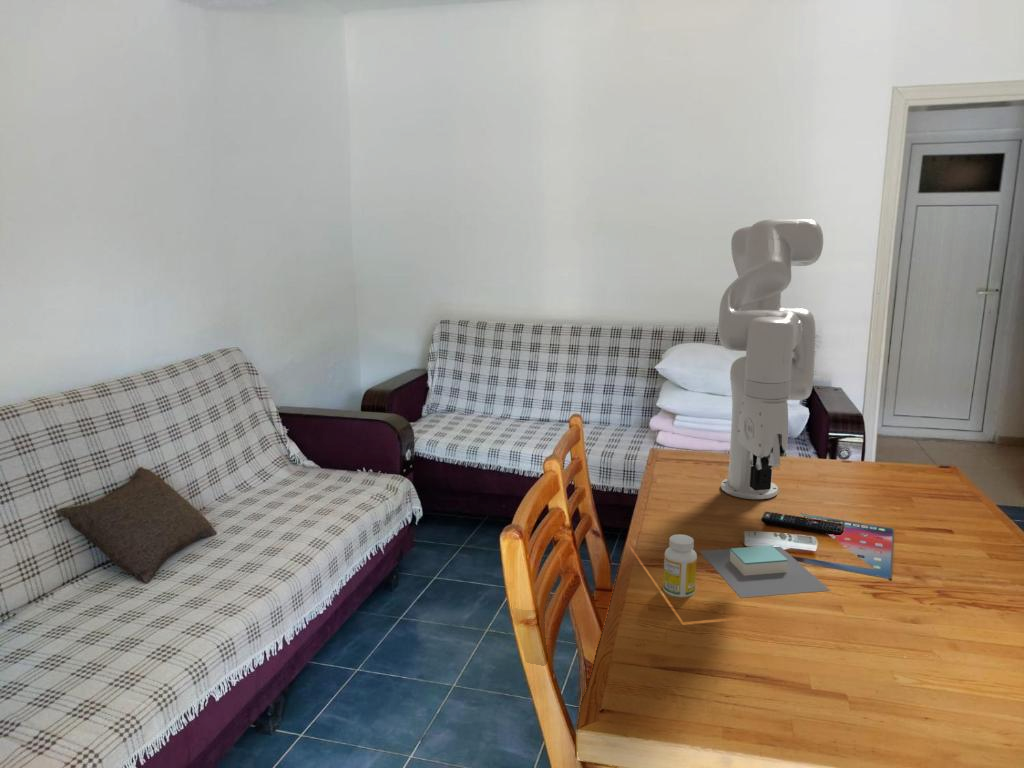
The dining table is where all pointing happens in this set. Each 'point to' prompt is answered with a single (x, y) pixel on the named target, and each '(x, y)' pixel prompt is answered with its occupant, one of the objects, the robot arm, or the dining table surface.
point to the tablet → (862, 548)
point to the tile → (758, 560)
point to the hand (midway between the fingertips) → (760, 488)
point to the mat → (764, 577)
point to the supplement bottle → (680, 566)
